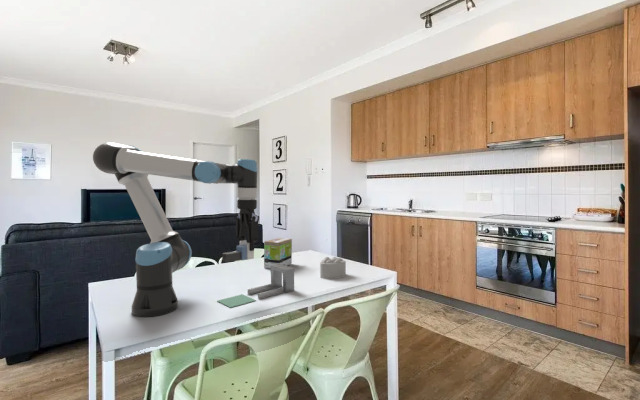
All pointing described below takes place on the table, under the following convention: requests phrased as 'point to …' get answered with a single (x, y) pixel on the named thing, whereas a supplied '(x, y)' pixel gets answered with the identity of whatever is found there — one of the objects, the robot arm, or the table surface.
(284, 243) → the tea box
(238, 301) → the mat
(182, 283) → the table surface
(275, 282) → the grey stand
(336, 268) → the lumpy-topped squat cylinder
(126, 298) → the table surface
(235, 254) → the plug
